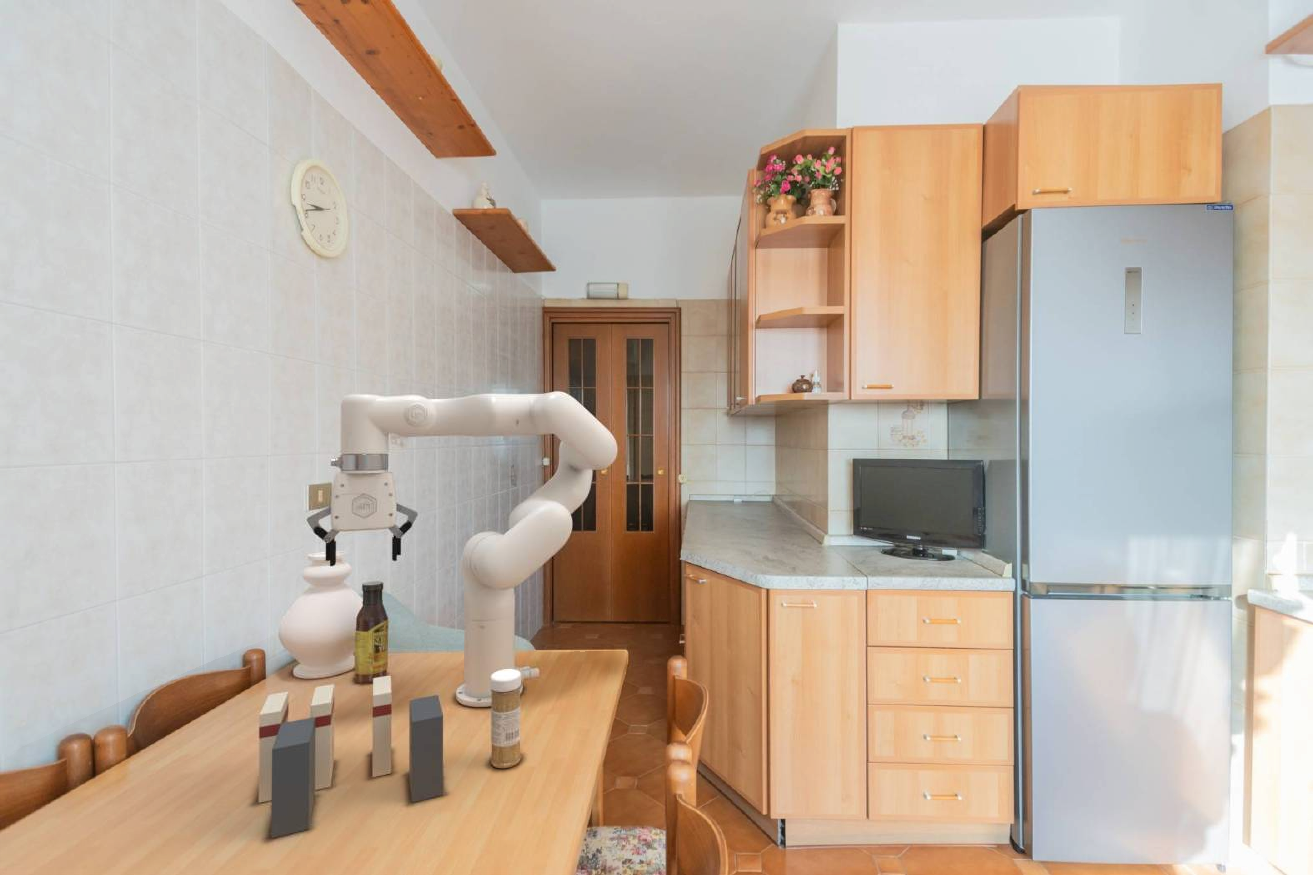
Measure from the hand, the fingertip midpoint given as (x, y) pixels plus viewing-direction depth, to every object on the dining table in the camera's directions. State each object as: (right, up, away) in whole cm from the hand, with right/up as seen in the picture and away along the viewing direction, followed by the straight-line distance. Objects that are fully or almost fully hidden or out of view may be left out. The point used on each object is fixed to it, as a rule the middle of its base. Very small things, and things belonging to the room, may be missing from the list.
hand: (364, 562), depth 100 cm
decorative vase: (-22, -29, +26) cm, 44 cm away
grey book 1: (+4, -28, -25) cm, 38 cm away
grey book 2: (+18, -28, -18) cm, 38 cm away
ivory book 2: (+2, -28, -16) cm, 32 cm away
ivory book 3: (+9, -28, -13) cm, 32 cm away
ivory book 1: (-3, -28, -19) cm, 34 cm away
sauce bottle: (-9, -29, +20) cm, 36 cm away
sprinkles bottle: (+28, -28, -12) cm, 42 cm away
